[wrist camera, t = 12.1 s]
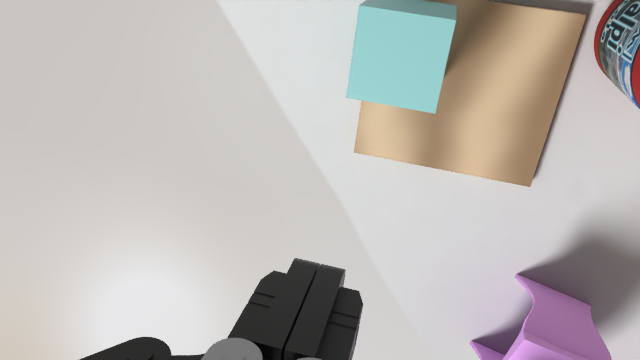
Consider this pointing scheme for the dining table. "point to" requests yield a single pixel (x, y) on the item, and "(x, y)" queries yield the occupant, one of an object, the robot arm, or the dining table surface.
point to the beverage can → (620, 46)
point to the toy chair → (552, 330)
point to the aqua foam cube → (401, 52)
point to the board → (484, 95)
